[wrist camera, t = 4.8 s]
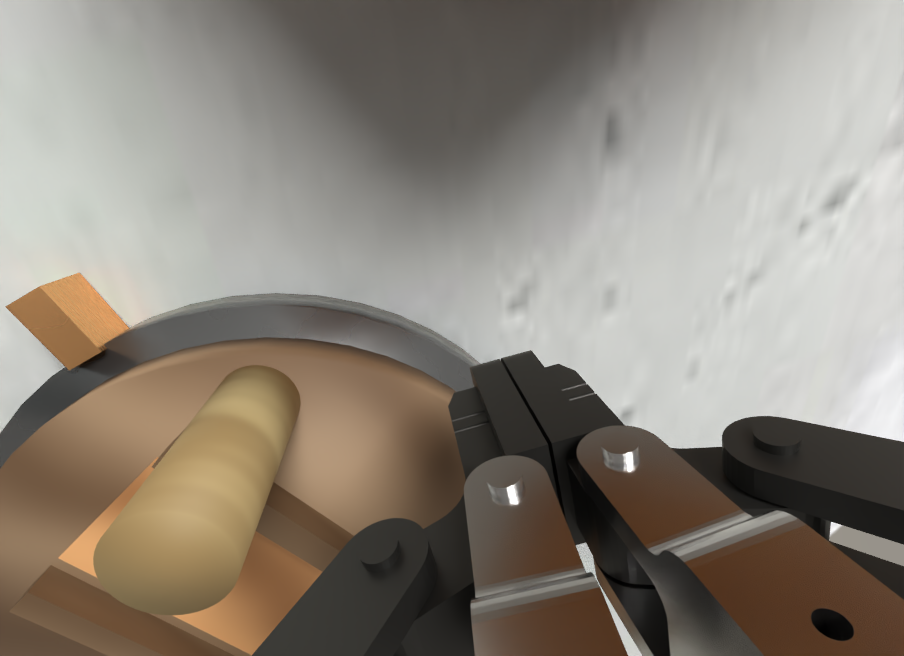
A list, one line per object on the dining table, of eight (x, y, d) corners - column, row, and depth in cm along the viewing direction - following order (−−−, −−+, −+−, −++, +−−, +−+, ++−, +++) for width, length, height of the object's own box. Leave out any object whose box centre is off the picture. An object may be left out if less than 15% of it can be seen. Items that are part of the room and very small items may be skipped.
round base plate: (467, 719, 25) (472, 759, 23) (6, 698, 20) (-28, 746, 19) (623, 366, 19) (647, 386, 17) (5, 217, 14) (-48, 224, 12)
